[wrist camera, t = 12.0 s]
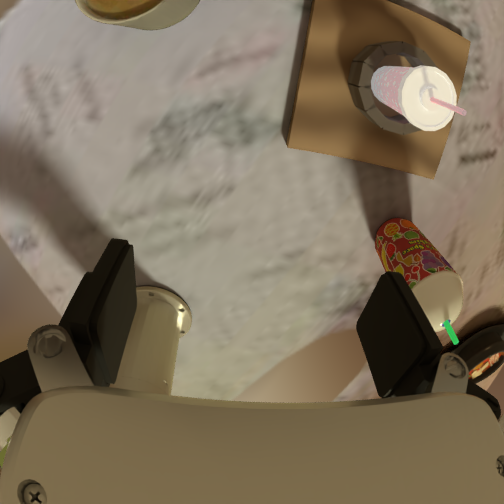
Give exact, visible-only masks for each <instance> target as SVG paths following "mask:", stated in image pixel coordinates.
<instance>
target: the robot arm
mask: <svg viewBox="0 0 504 504" xmlns="http://www.w3.org/2000/svg"><path fill="white" fill-rule="evenodd" d="M191 322H192V315H191V311H190V309H189V307H188V306H187V305H186V303H185V302H184V301H183V300H182V299H181V298H179V297H178V296H176V295H175V294H173V293H171V292H169V291H167V290H164V289H161V288H158V287H151V286H142V287H136V282H135V268H134V251H133V245H129V243H128V241H127V240H123V239H114V238H113V239H111V241H110V242H109V244H108V246H107V247H106V249H105V251H104V253H103V254H102V256H101V258H100V260H99V261H98V263H97V265H96V267H95V269H94V271H93V272H87V273H86V274H85V275H84V277H83V278H82V280H81V282H80V284H79V286H78V288H77V289H76V291H75V293H74V295H73V297H72V299H71V301H70V303H69V305H68V307H67V309H66V311H65V313H64V315H63V317H62V319H61V321H60V323H59V325H50V324H49V325H45V326H42V327H40V328H38V329H36V330H35V331H34V332H33V333H32V334H31V336H30V338H29V340H28V344H27V347H28V350H26V351H24V352H21V353H19V354H17V355H15V356H13V357H11V358H9V359H6V360H4V361H2V362H0V451H1V450H2V448H3V447H4V446H5V445H6V444H7V443H8V442H7V441H6V440H7V439H8V438H9V437H10V436H11V435H12V436H11V439H10V441H9V445H8V448H7V451H6V455H5V459H4V463H3V467H2V468H1V466H0V504H504V415H502V416H501V417H500V415H501V409H500V405H499V403H498V400H497V399H496V398H495V397H493V396H492V395H491V394H489V393H488V392H487V391H485V390H484V389H482V388H481V387H479V386H478V385H476V384H475V383H473V382H472V381H470V380H469V379H468V377H469V370H468V367H467V365H466V363H465V362H464V361H463V359H462V358H461V357H459V356H458V355H456V354H454V353H449V352H448V353H444V354H443V355H442V356H441V354H440V352H441V350H442V349H443V346H442V344H441V342H440V340H439V338H438V336H437V335H436V333H435V331H434V329H433V327H432V325H431V323H430V322H429V320H428V318H427V316H426V314H425V313H424V311H423V309H422V307H421V306H420V304H419V302H418V300H417V299H416V297H415V295H414V294H413V292H412V290H411V288H410V287H409V285H408V283H407V282H406V280H405V279H404V277H403V275H402V274H401V273H399V272H392V271H387V272H386V273H385V274H383V275H381V277H380V279H379V281H378V283H377V285H376V287H375V289H374V291H373V293H372V295H371V297H370V299H369V300H368V302H367V304H366V306H365V308H364V310H363V312H362V314H361V316H360V317H359V319H358V321H357V325H356V329H357V332H358V335H359V338H360V341H361V344H362V346H363V350H364V352H365V355H366V358H367V361H368V364H369V367H370V370H371V373H372V376H373V380H374V383H375V386H376V389H377V392H378V395H379V396H380V397H382V398H381V399H369V400H356V401H339V402H314V403H270V402H268V403H267V402H241V401H225V400H212V399H201V398H191V397H182V396H173V395H171V390H172V383H173V376H174V369H175V362H176V356H177V350H178V343H179V338H181V337H182V336H184V335H185V334H186V333H187V332H188V331H189V329H190V327H191Z"/></svg>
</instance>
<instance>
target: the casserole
mask: <svg viewBox="0 0 504 504" xmlns="http://www.w3.org/2000/svg"><path fill="white" fill-rule="evenodd" d="M449 353H454V354H456V355H458V356H459V357H461V358H462V359H463V361H464V362H465V363H466V365H467V367H468V370H469V377H468V379H469V380H470V381H472V382H473V383H475V384H476V383H478V382H480V381H482V380H484V379H485V378H487V377H488V376H490V375H491V374H492V373H494V372H495V371H496V370H497V369H498V368H499V367H500V366H501V365H502V364H503V363H504V323H503V324H501V325H496V326H491V327H488V328H485V329H483V330H481V331H479V332H477V333H476V334H474V335H473V336H471V337H470V338H468V339H467V340H466V341H465V342H463V343H462V344H461V345H460V346H458V347H457V348H456V349H454V350H452V351H451V352H449Z"/></svg>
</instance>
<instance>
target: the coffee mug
mask: <svg viewBox="0 0 504 504" xmlns="http://www.w3.org/2000/svg"><path fill="white" fill-rule="evenodd" d="M199 1H200V0H75V2H76V4H77V6H78V8H79V9H80V10H81V11H82V12H83V13H84V14H85V15H86V16H87V17H89V18H91V19H93V20H95V21H97V22H101V23H105V24H113V25H119V26H125V27H131V28H137V29H142V30H159V29H163V28H167V27H170V26H172V25H174V24H176V23H178V22H180V21H182V20H183V19H184V18H186V17H187V16H188V15H189V14H190V13H191V12H192V11H193V10H194V9H195V7H196V6H197V5H198V3H199Z"/></svg>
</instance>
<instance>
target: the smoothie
mask: <svg viewBox="0 0 504 504" xmlns="http://www.w3.org/2000/svg"><path fill="white" fill-rule="evenodd" d="M375 249H376V251H377V253H378V255H379V258H380V260H381V262H382V264H383V267H384V269H385V271H386V272H387V271H392V272H399V273H401V274H402V275H403V277H404V279H405V280H406V282H407V283H408V285H409V287H410V288H411V290H412V292H413V294H414V295H415V297H416V299H417V300H418V302H419V304H420V306H421V307H422V309H423V311H424V313H425V314H426V316H427V318H428V320H429V322H430V323H431V325H432V327H433V329H434V331H435V332H438V331H441V330H444V329H446V330H447V332H448V334H449V336H450V338H451V340H452V342H453V344H454V345H456V344H457V343H458V342H459V340H458V338H457V336H456V334H455V333H454V331H453V329H452V327H451V324H453V322H454V321H455V320H456V319H457V317H458V316H459V314H460V312H461V309H462V305H463V280H462V279H461V277H460V276H459V275H458V274H457V273H456V272H455V271H454V269H453V268H452V267H451V266H450V264H449V263H448V262H447V261H446V260H445V259H444V257H443V256H442V255H441V254H440V253H439V252H438V250H437V249H436V248H435V247H434V246H433V245H432V244H431V242H430V241H429V240H428V239H427V238H426V237H425V236H424V235H423V234H422V233H421V231H420V230H419V229H418V228H417V227H416V226H415V225H414V224H413V223H412V222H411V221H409V220H406V219H402V218H394V219H390V220H388V221H386V222H385V223H384V224H383V225H382V226H381V227H380V228H379V230H378V231H377V234H376V241H375Z"/></svg>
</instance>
